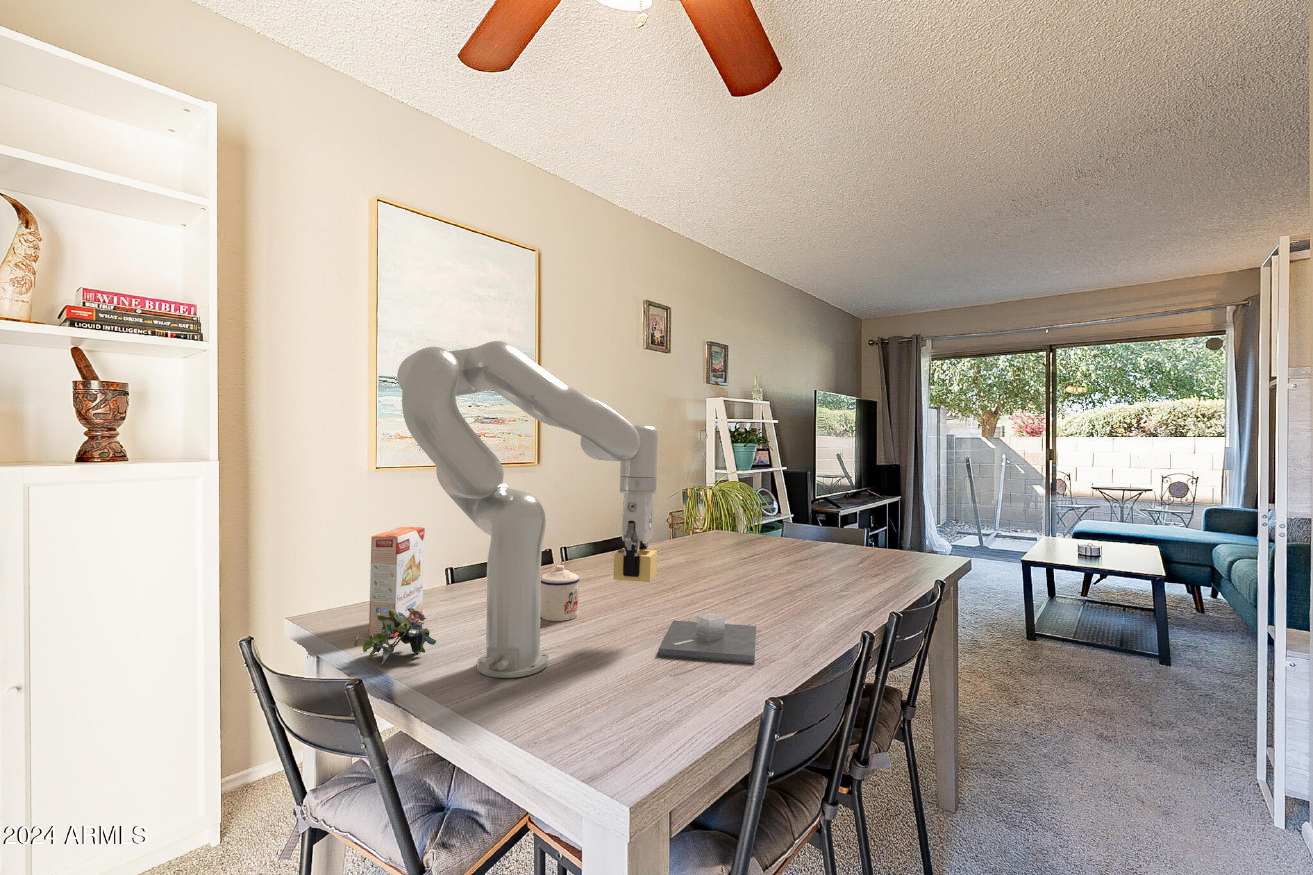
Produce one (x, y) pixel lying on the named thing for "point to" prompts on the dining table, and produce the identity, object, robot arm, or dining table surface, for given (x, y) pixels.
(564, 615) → the teacup with lid
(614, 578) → the collar
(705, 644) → the post plate
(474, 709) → the dining table surface
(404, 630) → the passion flower
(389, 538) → the cracker box
